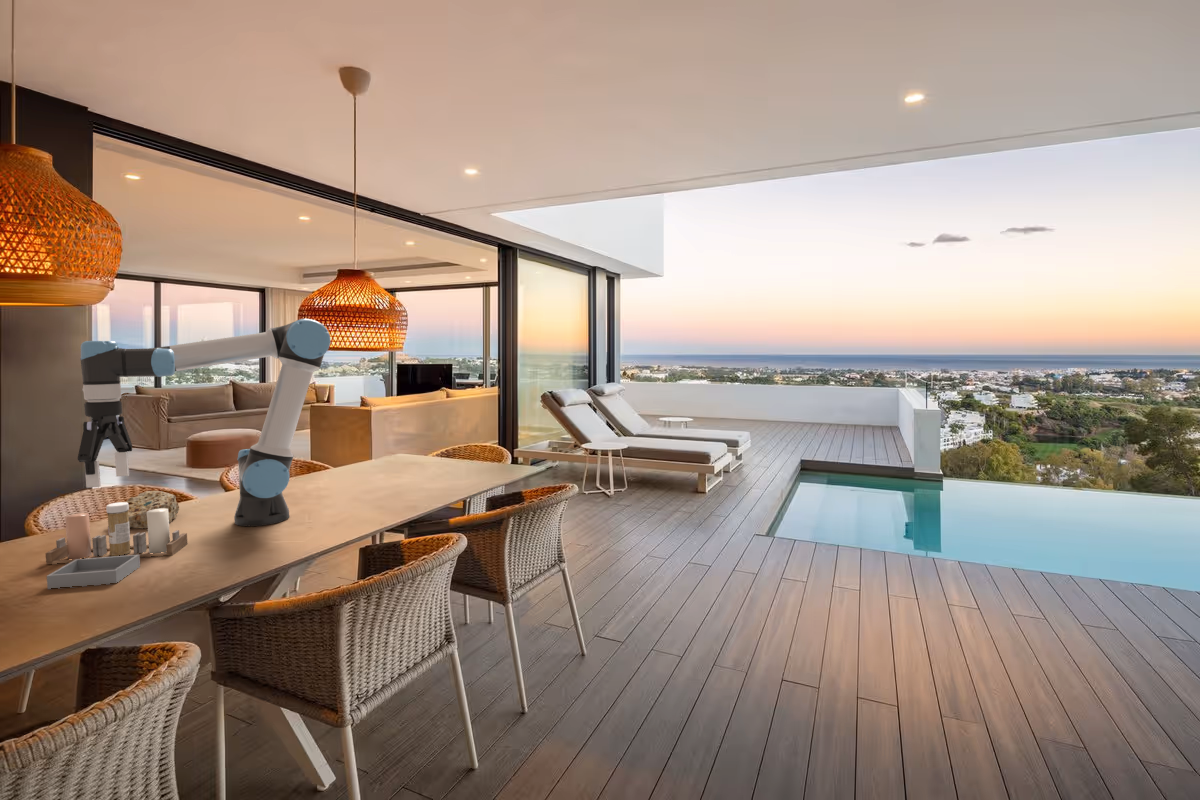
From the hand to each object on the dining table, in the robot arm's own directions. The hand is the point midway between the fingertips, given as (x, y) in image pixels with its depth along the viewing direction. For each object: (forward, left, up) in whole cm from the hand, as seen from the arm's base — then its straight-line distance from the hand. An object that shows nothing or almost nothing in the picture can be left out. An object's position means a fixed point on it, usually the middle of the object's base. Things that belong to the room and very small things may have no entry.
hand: (108, 481), depth 157 cm
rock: (+5, -32, -20) cm, 38 cm away
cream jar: (-11, +1, -19) cm, 22 cm away
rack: (-2, +1, -19) cm, 19 cm away
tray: (-5, +19, -19) cm, 28 cm away
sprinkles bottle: (-2, +1, -19) cm, 20 cm away
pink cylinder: (+7, +1, -19) cm, 20 cm away
